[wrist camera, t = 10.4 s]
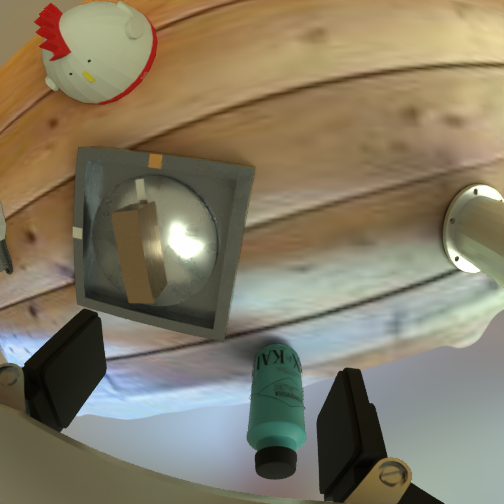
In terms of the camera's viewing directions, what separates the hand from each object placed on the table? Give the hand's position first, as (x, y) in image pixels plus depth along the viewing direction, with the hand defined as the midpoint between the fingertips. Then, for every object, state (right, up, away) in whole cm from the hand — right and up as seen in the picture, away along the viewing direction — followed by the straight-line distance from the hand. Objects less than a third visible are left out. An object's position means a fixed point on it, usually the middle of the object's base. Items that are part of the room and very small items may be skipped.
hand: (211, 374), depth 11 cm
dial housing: (-10, +6, +27) cm, 30 cm away
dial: (-10, +6, +25) cm, 28 cm away
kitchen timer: (-17, +30, +20) cm, 40 cm away
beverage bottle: (+5, -10, +32) cm, 34 cm away
